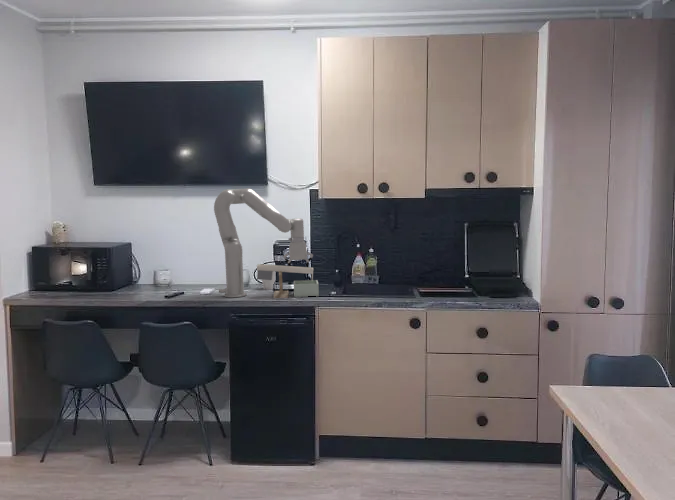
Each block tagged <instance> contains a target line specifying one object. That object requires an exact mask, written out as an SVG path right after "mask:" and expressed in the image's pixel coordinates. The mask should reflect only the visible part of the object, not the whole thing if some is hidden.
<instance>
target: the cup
mask: <svg viewBox="0 0 675 500" xmlns="http://www.w3.org/2000/svg"><path fill="white" fill-rule="evenodd" d="M319 286H320V285H319V281H318V279H313V281H312V279H307V280H293V297H294V298H309V297H308V296H316V297H319V296H320V295H319V294H320V291H319V289H320V288H319Z"/></svg>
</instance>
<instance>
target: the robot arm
mask: <svg viewBox="0 0 675 500" xmlns="http://www.w3.org/2000/svg"><path fill="white" fill-rule="evenodd" d="M237 204H239V205H241V204H243V205H244V204H245V205H246V206H248V207H249V208H250V209H251V210H252V211H254V212H255V213H256V214H257V215H259V216H260V217H262V219H265V220H267V221H268V222H269V223H270V224H272V225H273V226H274V227H275V228H276V229H277V230H278V231H280V232H282V233H288V232H290V237H289V238H288V241H290V242H289V246H288V247H289V248H288V251H289V252H287V253H286V254H284V255H283V256H282V258H283V259H284V261H285V262H286V263H287V266H292V264H291V262H292V261H300V260H301V261H302V260H304V261H306V262H305V267H310V265H309V264H310V262H311V261H312V259H313V257H314V254H313V253H311V252H308V249H307V243H306V241H305V228H304V227H305V225H304V220H303V218H297V217H295V218H286V217H285V216H284V215H283V214H282V213H281V212H279V211H278V210H277V209H276V208H275V207H274V206H272V205H271V204H270V203H269V202H268V201H267V200H265V198H264V197H262V196H260V194H258V192H255V190H254V189H251V188H247V187H246V188H237V189H236V188H235V189H232V188H229V189H228V188H227V189H223V190H222V191H221V192H220V193H219V194H218V195H217V197H216V198H215V201H214V203H213V212H214V216H215V219H216V223H217V227H218V232H219V235H220V238H221V241H222V245H223V247H224V259H225V262H224V263H225V278H226V288H223V289H222V288H220V289H218V293H221V294H222V293H224V294H223V297H225V298H242V297H245V296H247V295H248V294H247V292H245V287H244V269H243V268H244V267H243V266H244V263H243V262H244V261H243V246H242V244H241V241H240V238H239V235H238V232H237V229H236V228H237V227H236V225H235V223H234V220H233V217H232V213H231V210H230V209H231V208H230V206H231V205H237ZM288 256H289V259H288V258H287V257H288ZM308 256H309V257H308Z"/></svg>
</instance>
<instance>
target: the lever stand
mask: <svg viewBox="0 0 675 500" xmlns="http://www.w3.org/2000/svg"><path fill="white" fill-rule="evenodd" d="M283 285H284V284H283V272H282V271H279V272H278V286H279V288H278V289H279V290H274V292H273V299H283V298H284V299H286V298H287V299H288V298H289V290H284V289H283V288H284V287H283Z"/></svg>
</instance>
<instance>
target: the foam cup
mask: <svg viewBox="0 0 675 500" xmlns="http://www.w3.org/2000/svg"><path fill="white" fill-rule="evenodd" d="M276 273H277V272H275V271H272V280H261V281H262V283H261V284H262V287H263V290H265V291H266V290H268V291H269V290H274V289H273V284H274V282H275V281H276ZM274 285H275V284H274Z"/></svg>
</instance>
